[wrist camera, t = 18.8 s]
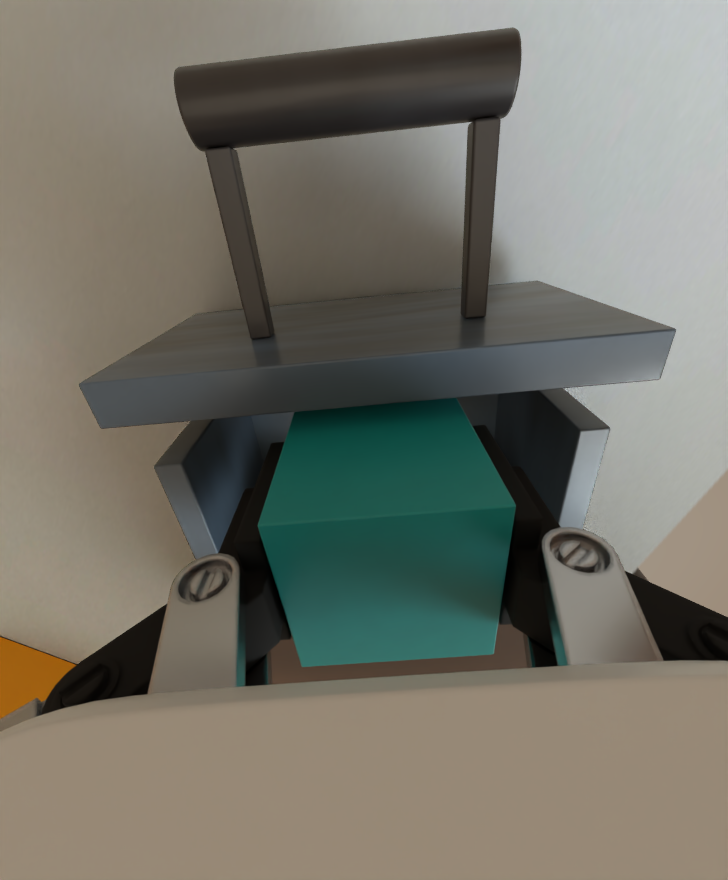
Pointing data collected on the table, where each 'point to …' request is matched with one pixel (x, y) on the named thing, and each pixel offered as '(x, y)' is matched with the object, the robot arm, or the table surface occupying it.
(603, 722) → the robot arm
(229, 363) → the drawer
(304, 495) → the teal matte cube
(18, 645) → the orange juice
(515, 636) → the cabinet
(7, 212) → the table surface
